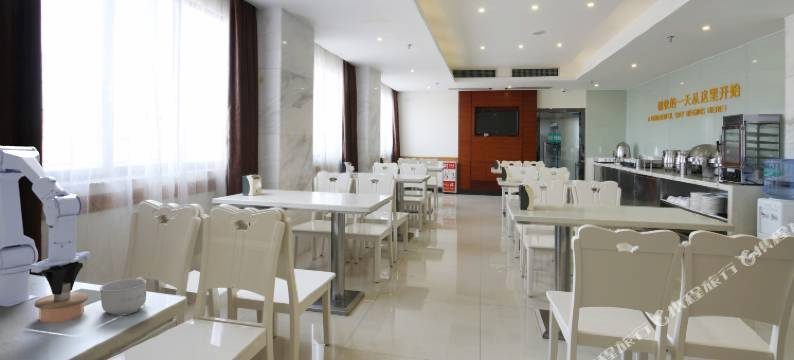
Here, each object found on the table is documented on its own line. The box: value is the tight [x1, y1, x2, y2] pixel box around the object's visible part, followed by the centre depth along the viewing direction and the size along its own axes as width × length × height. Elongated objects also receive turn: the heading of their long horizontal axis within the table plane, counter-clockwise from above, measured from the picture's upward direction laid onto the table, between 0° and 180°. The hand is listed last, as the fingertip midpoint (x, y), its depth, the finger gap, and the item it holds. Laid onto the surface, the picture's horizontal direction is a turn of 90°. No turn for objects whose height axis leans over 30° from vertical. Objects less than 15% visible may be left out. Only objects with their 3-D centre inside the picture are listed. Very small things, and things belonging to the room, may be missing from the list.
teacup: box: [99, 276, 148, 316], centre depth 117 cm, size 14×11×8 cm
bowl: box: [38, 302, 85, 323], centre depth 110 cm, size 9×9×4 cm
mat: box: [72, 288, 101, 307], centre depth 123 cm, size 13×13×1 cm
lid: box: [34, 282, 88, 309], centre depth 110 cm, size 11×11×5 cm
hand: (62, 292), depth 110 cm, fingers closed on lid, 2 cm apart
